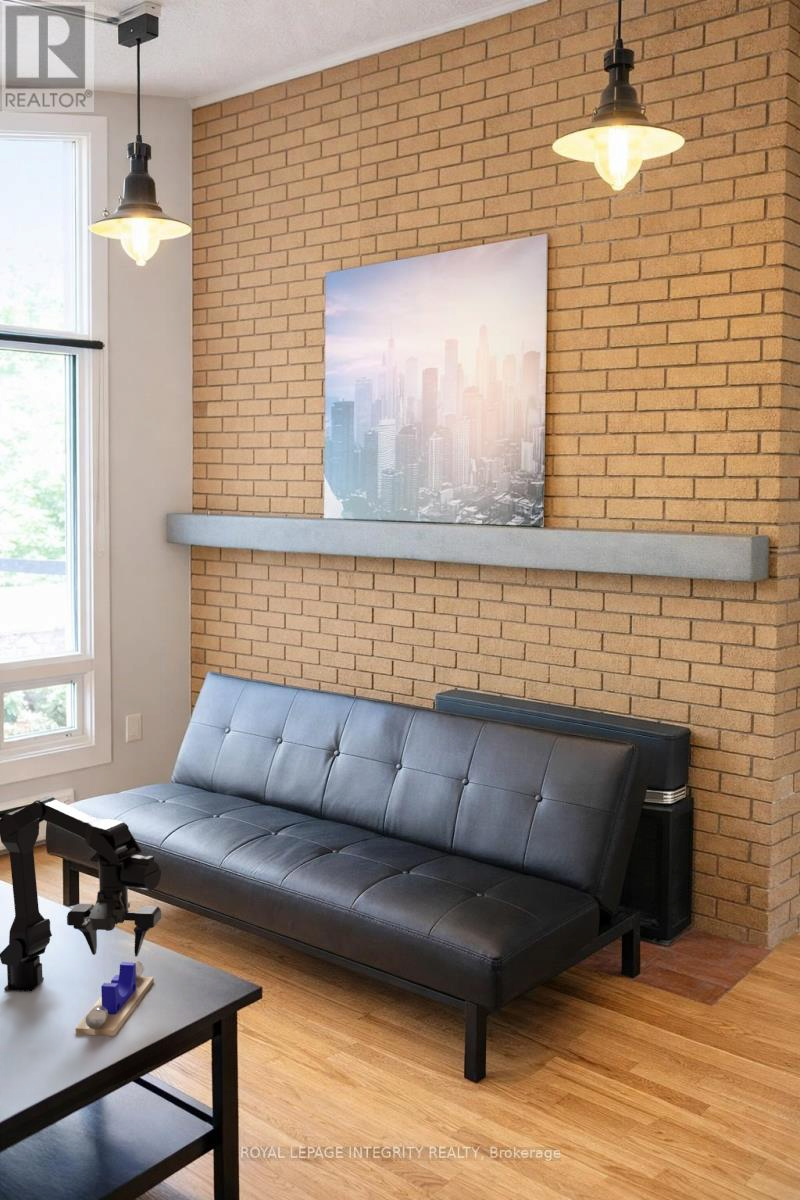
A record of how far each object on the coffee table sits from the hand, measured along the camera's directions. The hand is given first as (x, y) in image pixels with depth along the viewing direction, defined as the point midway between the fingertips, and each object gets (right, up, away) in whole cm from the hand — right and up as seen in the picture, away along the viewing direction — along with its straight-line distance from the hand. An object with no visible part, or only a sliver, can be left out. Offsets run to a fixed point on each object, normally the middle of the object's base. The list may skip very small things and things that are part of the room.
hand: (115, 954), depth 238 cm
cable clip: (0, -10, +1) cm, 11 cm away
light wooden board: (0, -11, +1) cm, 11 cm away
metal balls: (0, -10, +1) cm, 10 cm away
